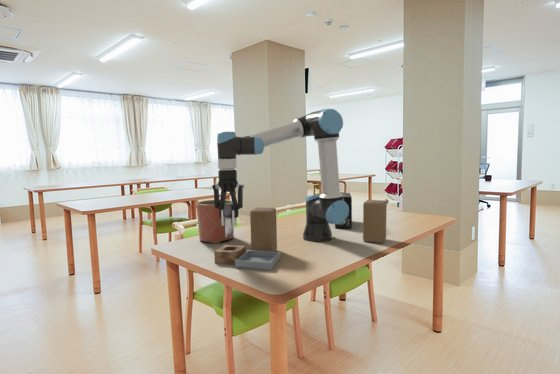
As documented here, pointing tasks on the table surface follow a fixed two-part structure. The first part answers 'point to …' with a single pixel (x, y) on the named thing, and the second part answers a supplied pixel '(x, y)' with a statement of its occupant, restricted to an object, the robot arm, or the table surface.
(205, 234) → the planter
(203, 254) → the table surface
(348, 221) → the box
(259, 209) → the wooden block
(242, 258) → the tray
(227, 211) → the cylinder
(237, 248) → the block
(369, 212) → the block
